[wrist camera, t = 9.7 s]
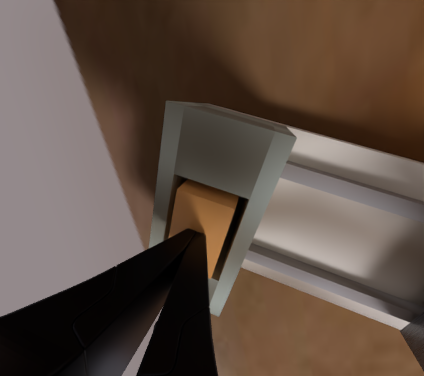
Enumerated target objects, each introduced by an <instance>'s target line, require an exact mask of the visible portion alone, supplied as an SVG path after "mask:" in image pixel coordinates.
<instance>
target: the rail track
mask: <svg viewBox="0 0 424 376" xmlns="http://www.w3.org/2000/svg"><path fill="white" fill-rule="evenodd" d="M188 179H191V180H194V181H197V182H200V183H203V184H206V185H209V186H212V187H215V188H218V189H221V190H223V191H226V192H229V193H232V194H235V195H238V196H239V199H238V202H237V205H236V209H235V211H234V214H233V217H232V220H231V223H230V226H229V229H228V232H227V234H226V237H225V240H224V243H223V246H222V249H221V252H220V254H219V257H218V260H217V263H216V266H215V269H214V272H213V274H212V277H211V279H209V278H208V281H209V299H210V313H212V314H214V315H216V316H218V317H219V316H220V313H221V311H222V309H223V307H224V304H225V302H226V300H227V297H228V295H229V293H230V290H231V288H232V286H233V284H234V281H235V279H236V277H237V274H238V272H239V270H240V268H241V267H242V268H244V269H247V270H249V271H252V272H255V273H257V274H260V275H262V276H265V277H267V278H270V279H272V280H275V281H277V282H280V283H283V284H285V285H288V286H290V287H293V288H295V289H298V290H300V291H303V292H305V293H308V294H311V295H313V296H316V297H318V298H321V299H323V300H326V301H328V302H331V303H333V304H336V305H339V306H341V307H344V308H346V309H349V310H351V311H354V312H356V313H359V314H361V315H364V316H367V317H369V318H372V319H374V320H377V321H379V322H382V323H384V324H387V325H389V326H392V327H395V328H397V329H400V330H402V329H403V328H404V327H405V326H407V325H408V324H409V323H410V322H412V321H413V320H414V319H415V318H417V317H418V316H419V315H420V314H422V313H423V312H424V163H423V162H419V161H416V160H412V159H408V158H405V157H401V156H397V155H394V154H390V153H387V152H383V151H379V150H376V149H372V148H368V147H365V146H361V145H358V144H354V143H350V142H347V141H343V140H339V139H336V138H332V137H329V136H325V135H321V134H318V133H314V132H310V131H307V130H303V129H300V128H296V127H292V126H289V125H285V124H281V123H278V122H274V121H271V120H267V119H263V118H260V117H256V116H252V115H249V114H245V113H242V112H238V111H234V110H231V109H227V108H223V107H220V106H216V105H213V104H209V103H194V102H179V101H166V106H165V114H164V123H163V131H162V140H161V149H160V157H159V166H158V174H157V183H156V192H155V200H154V209H153V217H152V226H151V235H150V243H149V248H151V247H153V246H155V245H157V244H158V243H160V242H162V241H164V240H166V239H168V238H169V233H170V227H171V221H172V215H173V210H174V204H175V198H176V192H177V189H178V188H179V187H180V186H181V185H182V184H183V183H184V182H185V181H186V180H188Z"/></svg>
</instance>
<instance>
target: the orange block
mask: <svg viewBox="0 0 424 376" xmlns="http://www.w3.org/2000/svg"><path fill="white" fill-rule="evenodd" d="M238 199H239V196H238V195H235V194H232V193H229V192H226V191H223V190H221V189H218V188H215V187H212V186H209V185H206V184H203V183H200V182H197V181H194V180H191V179H188V180H186V181H185V182H184V183H183V184H182V185H181V186H180V187H179V188H178V189H177V192H176V198H175V204H174V210H173V215H172V221H171V227H170V233H169V238H170V237H172V236H174V235H176V234H178V233H179V232H181V231H183V230H185V229H187V228H190V229H192V230H195V231H196V232H200V233H203V234H205V235H206V243H207V262H208V278H209V279H211V277H212V274H213V272H214V269H215V266H216V263H217V260H218V257H219V254H220V252H221V249H222V246H223V243H224V240H225V237H226V234H227V232H228V229H229V226H230V223H231V220H232V217H233V214H234V211H235V209H236V205H237V202H238Z"/></svg>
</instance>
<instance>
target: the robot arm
mask: <svg viewBox="0 0 424 376" xmlns="http://www.w3.org/2000/svg"><path fill="white" fill-rule="evenodd" d="M162 307H163V308H162ZM161 309H162V311H161V313H160V316H159V319H158V321H157V322H156V323H155V325H154V330H153V334H152V337H151V339H150V341H149V345H148V346H147V349H146V352H145V354H144V357H143V359H142V362H141V364H140V367H139V370H138V372H137V375H136V376H218V372H217V366H216V360H215V353H214V346H213V339H212V328H211V315H210V299H209V281H208V262H207V243H206V235H205V234H203V233H200V232H196V231H195V230H192V229H190V228H187V229H185V230H183V231H181V232H179V233H178V234H176V235H174V236H172V237H170V238H168V239H166V240H164V241H162V242H160V243H158V244H157V245H155V246H153V247H151V248H149V249H147V250H145V251H143V252H141V253H139V254H137V255H136V256H134V257H132V258H130V259H128V260H126V261H124V262H122V263H120V264H118V265H117V266H116V267H115V266H114V267H113V268H110V269H109V270H107V271H105V272H103V273H101V274H99V275H97V276H95V277H93V278H91V279H89V280H86V281H84V282H82V283H80V284H77V285H76V286H73V287H71V288H69V289H67V290H64V291H61V292H59V293H57V294H54V295H52V296H50V297H47V298H45V299H43V300H40V301H38V302H36V303H33V304H31V305H28V306H26V307H24V308H21V309H19V310H16V311H14V312H12V313H9V314H7V315H4V316H1V317H0V376H121V375H122V374H123V372H124V371H125V369H126V367H127V365H128V364H129V362H130V360H131V359H132V357H133V355H134V354H135V352H136V351H137V349H138V347H139V346H140V344H141V342H142V341H143V339H144V337H145V336H146V334H147V332H148V330H149V329H150V327H151V325H152V324H153V322H154V320H155V319H156V317H157V315H158V314H159V312H160V310H161Z"/></svg>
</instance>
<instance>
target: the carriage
mask: <svg viewBox="0 0 424 376" xmlns="http://www.w3.org/2000/svg"><path fill="white" fill-rule="evenodd" d="M400 332H401V334H402V335H403V337H404V339H405V340H406V342H407V344H408V346H409V347H410V349H411V351H412V352H413V354H414V356H415V357H416V359H417V361H418V362H419V364H420V366H421V367H422V369H423V371H424V312H423V313H422V314H420V315H419V316H418V317H417V318H415V319H414V320H413V321H412V322H410V323H409V324H408V325H407V326H405V327H404V328H403V329H402V330H400Z"/></svg>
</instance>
